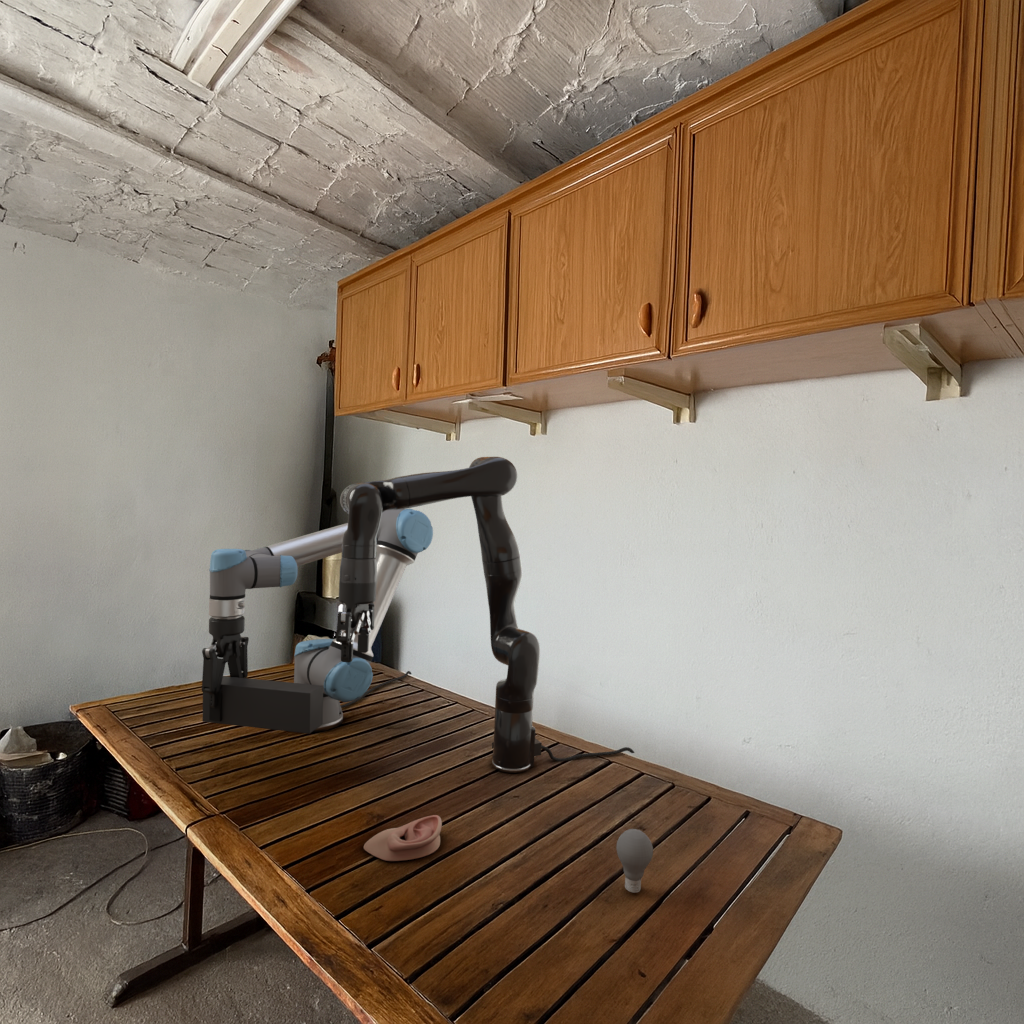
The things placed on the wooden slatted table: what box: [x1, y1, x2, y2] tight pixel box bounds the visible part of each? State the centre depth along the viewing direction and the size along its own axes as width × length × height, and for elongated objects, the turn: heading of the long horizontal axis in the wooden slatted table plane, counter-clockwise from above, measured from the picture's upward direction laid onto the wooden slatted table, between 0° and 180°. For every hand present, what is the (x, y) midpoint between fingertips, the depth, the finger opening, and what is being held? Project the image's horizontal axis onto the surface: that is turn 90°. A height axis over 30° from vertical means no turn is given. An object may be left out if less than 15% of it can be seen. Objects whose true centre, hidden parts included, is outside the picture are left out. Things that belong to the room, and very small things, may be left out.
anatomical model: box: [363, 814, 443, 862], centre depth 116 cm, size 13×4×12 cm
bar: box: [202, 675, 323, 734], centre depth 144 cm, size 27×6×9 cm, turn 78°
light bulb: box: [615, 828, 654, 894], centre depth 106 cm, size 6×6×10 cm
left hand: (224, 715), depth 147 cm, fingers closed on bar, 6 cm apart
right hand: (355, 656), depth 132 cm, fingers open, 8 cm apart
